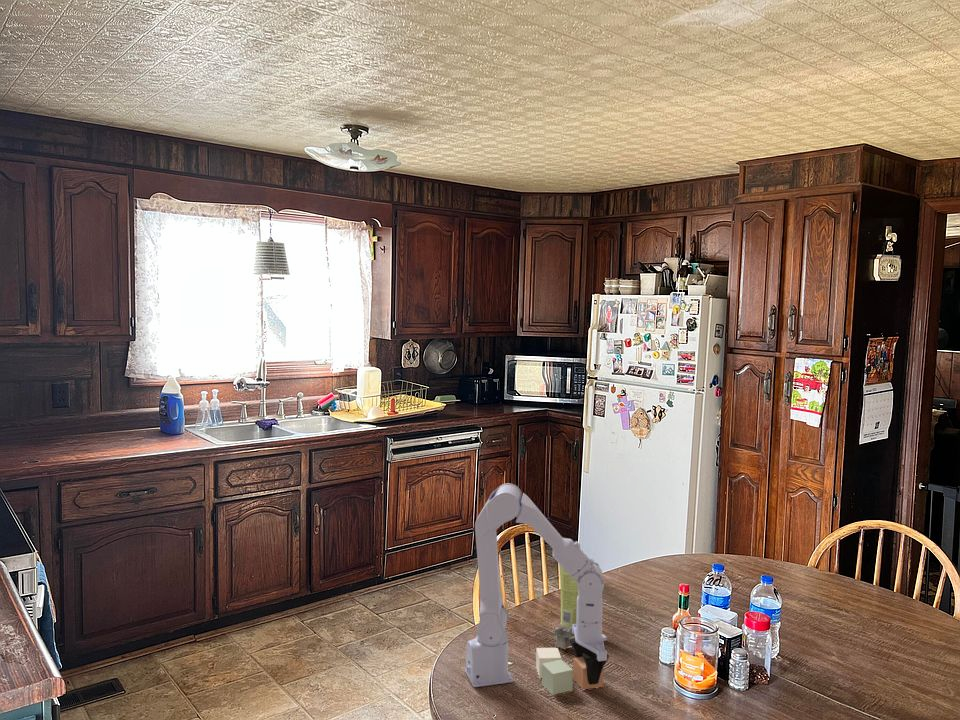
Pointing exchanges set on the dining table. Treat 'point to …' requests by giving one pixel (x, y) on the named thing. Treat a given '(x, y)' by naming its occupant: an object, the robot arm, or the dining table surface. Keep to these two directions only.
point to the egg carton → (563, 636)
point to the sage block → (557, 677)
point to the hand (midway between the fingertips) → (588, 677)
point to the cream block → (545, 657)
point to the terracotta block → (584, 674)
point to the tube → (568, 598)
